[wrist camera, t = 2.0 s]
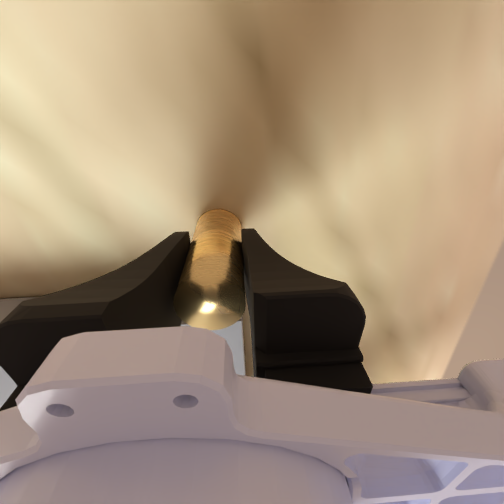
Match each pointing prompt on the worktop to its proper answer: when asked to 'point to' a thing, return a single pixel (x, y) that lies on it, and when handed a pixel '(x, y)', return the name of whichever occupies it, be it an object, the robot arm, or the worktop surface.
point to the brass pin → (213, 274)
